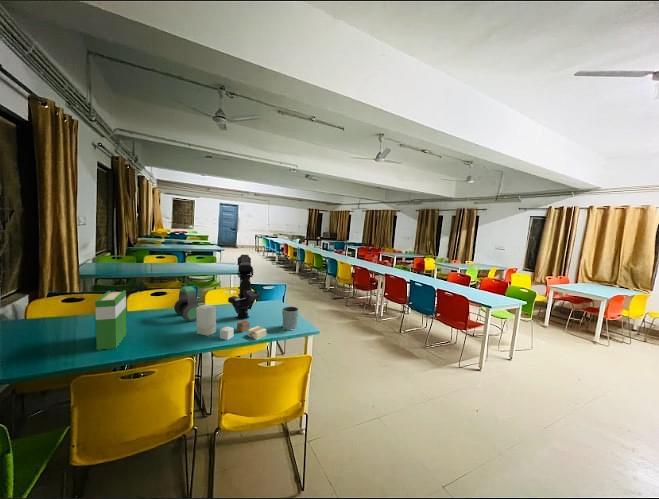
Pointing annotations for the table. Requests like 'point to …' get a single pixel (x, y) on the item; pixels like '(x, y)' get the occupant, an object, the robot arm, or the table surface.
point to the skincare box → (206, 319)
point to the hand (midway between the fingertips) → (243, 311)
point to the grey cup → (290, 317)
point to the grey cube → (226, 333)
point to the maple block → (257, 332)
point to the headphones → (187, 304)
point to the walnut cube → (243, 326)
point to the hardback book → (110, 319)
